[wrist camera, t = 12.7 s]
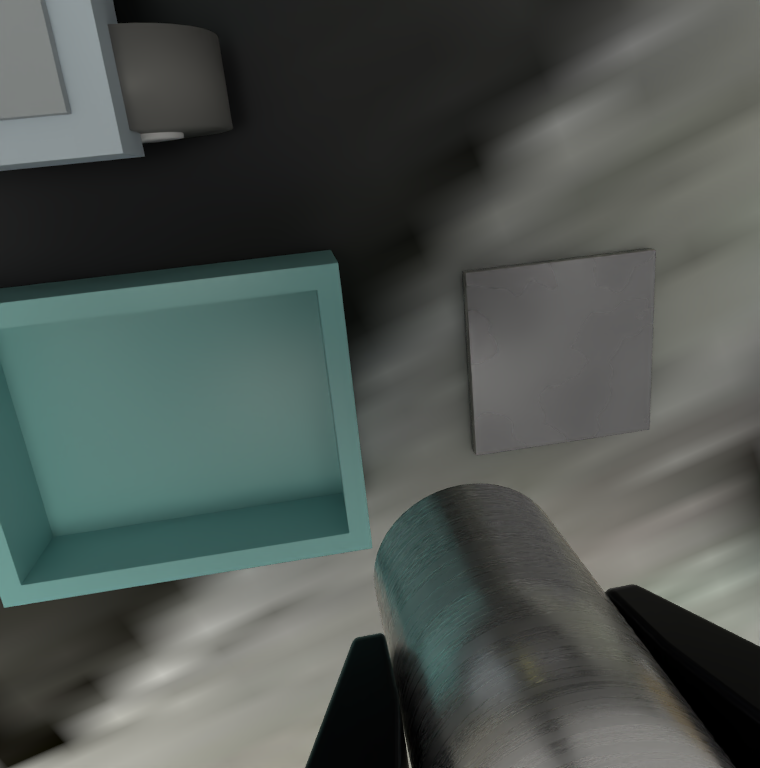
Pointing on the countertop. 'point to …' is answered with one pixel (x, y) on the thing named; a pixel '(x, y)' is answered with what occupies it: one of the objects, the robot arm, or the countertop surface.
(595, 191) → the countertop surface
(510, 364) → the pin plate
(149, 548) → the tray
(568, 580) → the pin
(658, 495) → the countertop surface
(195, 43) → the trolley
